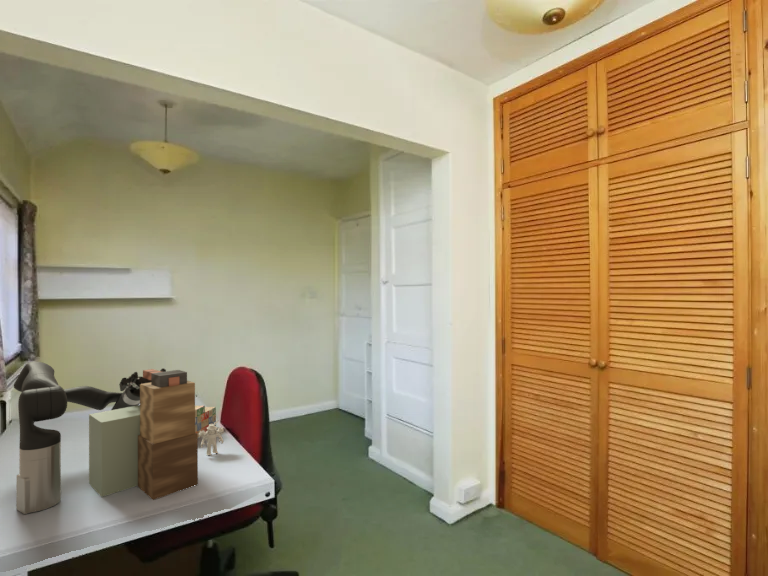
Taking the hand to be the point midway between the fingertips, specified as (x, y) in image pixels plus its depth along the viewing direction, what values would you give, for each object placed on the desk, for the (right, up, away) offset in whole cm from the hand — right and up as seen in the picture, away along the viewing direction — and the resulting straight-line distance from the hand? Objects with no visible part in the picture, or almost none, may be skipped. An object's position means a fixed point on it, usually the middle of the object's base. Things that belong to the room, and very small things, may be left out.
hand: (150, 372), depth 142 cm
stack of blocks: (-2, -35, +40) cm, 53 cm away
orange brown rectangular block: (+6, -1, -6) cm, 9 cm away
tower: (+11, -33, -11) cm, 37 cm away
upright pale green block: (-2, -34, -4) cm, 34 cm away
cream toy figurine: (+14, -34, +16) cm, 40 cm away
